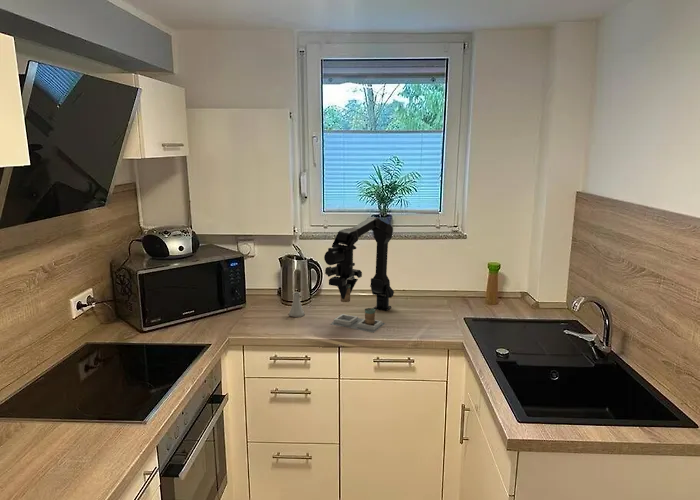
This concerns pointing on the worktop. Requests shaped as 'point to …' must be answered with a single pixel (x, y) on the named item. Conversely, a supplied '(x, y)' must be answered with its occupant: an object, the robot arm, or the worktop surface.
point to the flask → (296, 306)
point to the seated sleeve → (370, 316)
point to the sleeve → (347, 295)
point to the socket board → (356, 323)
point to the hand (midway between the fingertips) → (345, 297)
